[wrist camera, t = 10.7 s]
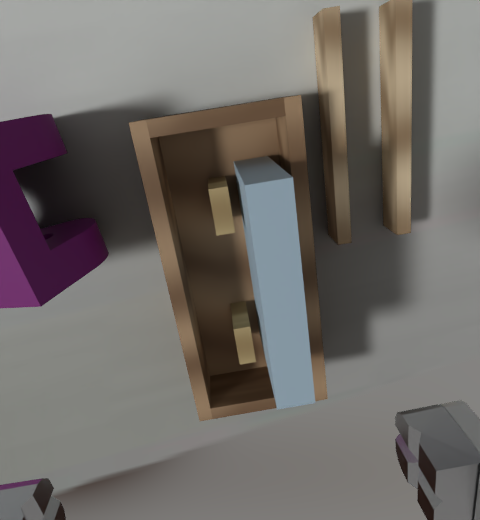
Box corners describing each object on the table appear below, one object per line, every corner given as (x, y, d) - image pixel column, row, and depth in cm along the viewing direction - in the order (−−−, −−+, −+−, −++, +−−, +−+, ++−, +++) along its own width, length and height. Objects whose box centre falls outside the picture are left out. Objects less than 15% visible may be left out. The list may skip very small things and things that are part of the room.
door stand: (312, 17, 26) (323, 8, 24) (394, 4, 26) (412, -6, 24) (328, 234, 32) (338, 244, 29) (395, 223, 32) (410, 232, 29)
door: (233, 161, 28) (244, 185, 20) (271, 155, 28) (299, 176, 20) (259, 332, 33) (277, 409, 25) (291, 327, 33) (320, 402, 25)
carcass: (141, 119, 28) (128, 122, 23) (285, 96, 28) (301, 95, 23) (200, 379, 36) (199, 421, 31) (311, 360, 36) (327, 398, 31)
